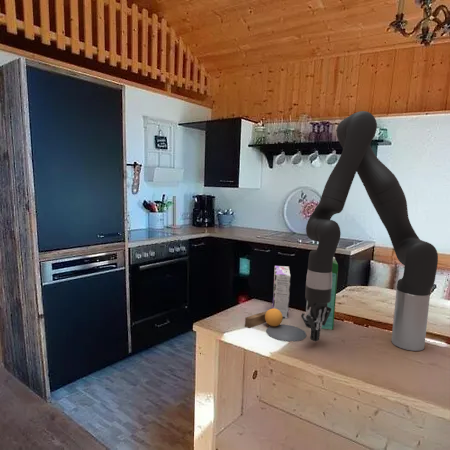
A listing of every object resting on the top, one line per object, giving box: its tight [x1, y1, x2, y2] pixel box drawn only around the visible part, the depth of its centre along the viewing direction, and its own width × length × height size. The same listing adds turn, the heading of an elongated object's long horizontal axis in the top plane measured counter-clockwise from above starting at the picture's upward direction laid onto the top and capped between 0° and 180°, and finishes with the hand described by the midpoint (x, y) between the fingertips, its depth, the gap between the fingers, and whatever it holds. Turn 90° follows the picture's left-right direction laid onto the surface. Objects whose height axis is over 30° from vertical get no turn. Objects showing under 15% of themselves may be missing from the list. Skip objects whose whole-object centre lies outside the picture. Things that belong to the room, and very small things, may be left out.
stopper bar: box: [244, 310, 268, 329], centre depth 126 cm, size 14×2×3 cm, turn 132°
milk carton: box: [305, 250, 339, 331], centre depth 125 cm, size 9×9×25 cm
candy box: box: [272, 265, 291, 319], centre depth 136 cm, size 14×6×16 cm, turn 172°
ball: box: [265, 307, 284, 326], centre depth 123 cm, size 6×6×6 cm
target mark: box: [265, 323, 307, 342], centre depth 118 cm, size 13×13×1 cm
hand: (314, 340), depth 109 cm, fingers closed
